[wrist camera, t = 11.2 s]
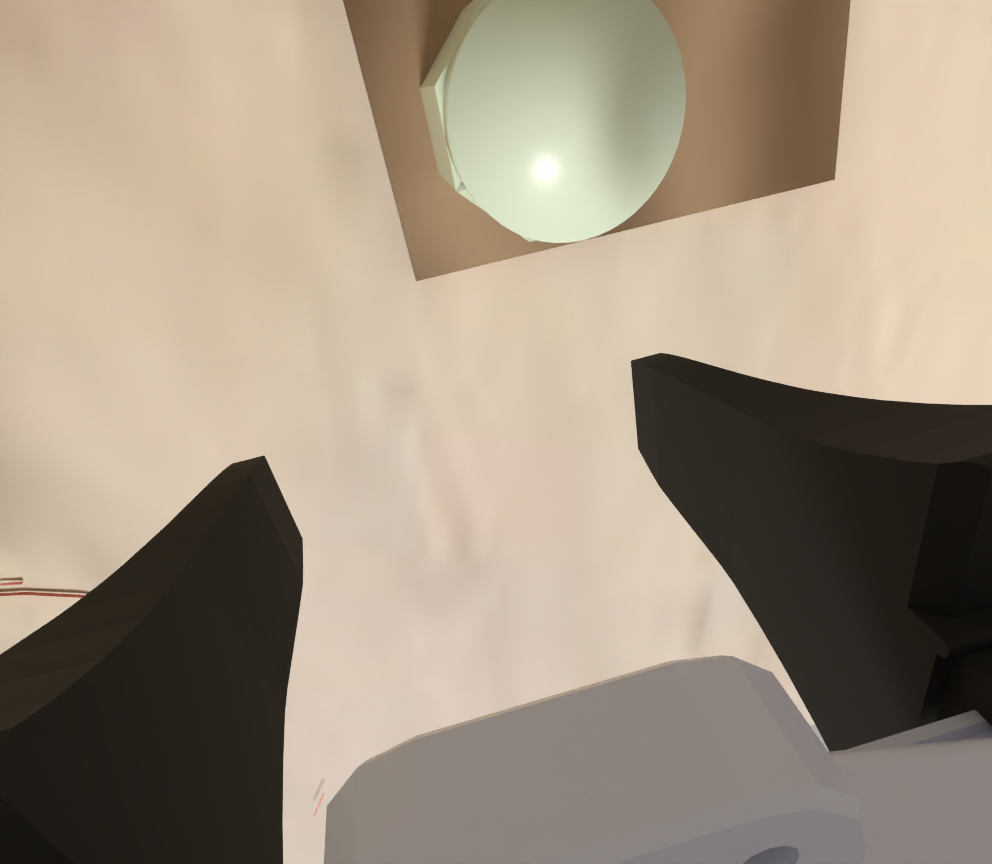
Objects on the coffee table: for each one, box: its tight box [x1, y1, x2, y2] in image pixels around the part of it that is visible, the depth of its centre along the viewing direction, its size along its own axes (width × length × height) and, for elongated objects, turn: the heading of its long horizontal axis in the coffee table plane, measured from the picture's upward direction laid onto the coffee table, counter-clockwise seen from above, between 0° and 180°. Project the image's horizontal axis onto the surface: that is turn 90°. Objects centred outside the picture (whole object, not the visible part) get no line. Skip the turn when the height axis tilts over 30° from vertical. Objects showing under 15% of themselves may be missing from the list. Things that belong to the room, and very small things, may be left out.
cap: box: [420, 0, 686, 243], centre depth 15 cm, size 5×5×5 cm
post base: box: [343, 0, 850, 281], centre depth 16 cm, size 14×10×4 cm
